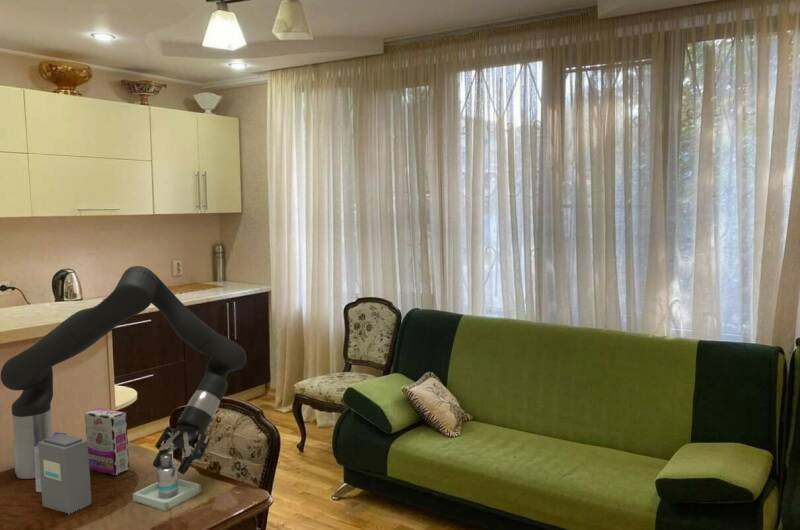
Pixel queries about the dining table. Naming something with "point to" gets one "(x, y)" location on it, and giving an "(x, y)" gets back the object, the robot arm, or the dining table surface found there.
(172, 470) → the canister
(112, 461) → the candy bar box
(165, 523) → the dining table surface
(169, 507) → the tray
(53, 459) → the gray storage container
